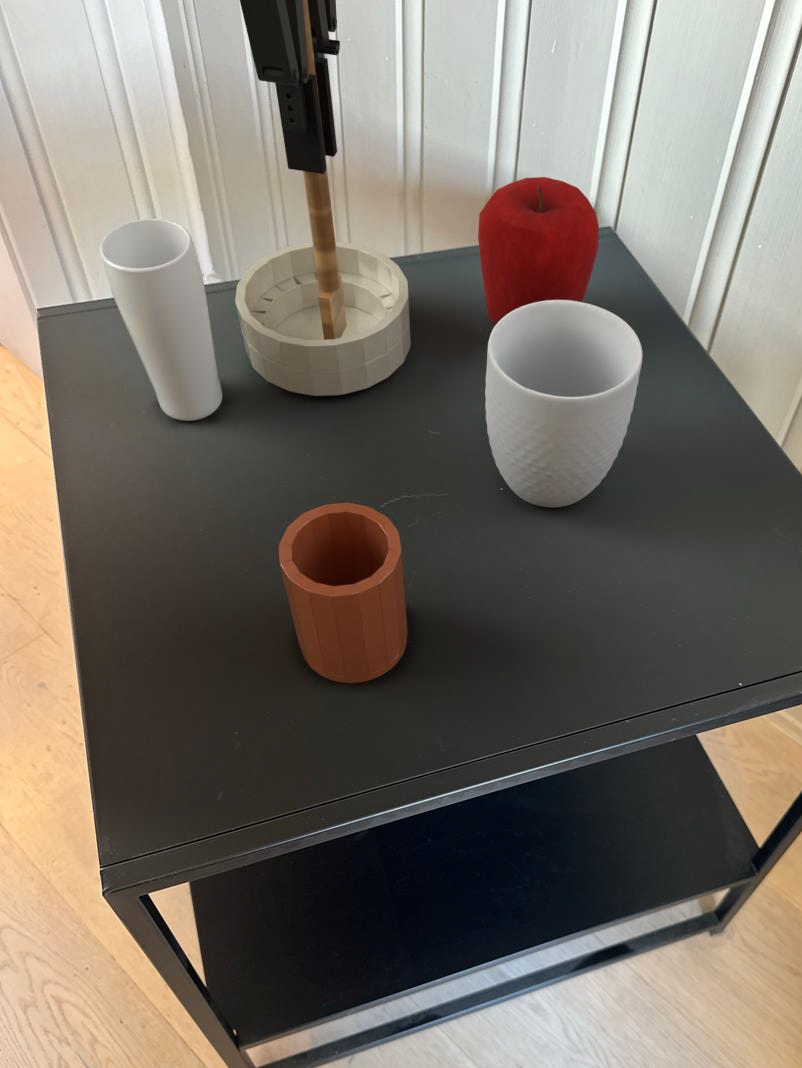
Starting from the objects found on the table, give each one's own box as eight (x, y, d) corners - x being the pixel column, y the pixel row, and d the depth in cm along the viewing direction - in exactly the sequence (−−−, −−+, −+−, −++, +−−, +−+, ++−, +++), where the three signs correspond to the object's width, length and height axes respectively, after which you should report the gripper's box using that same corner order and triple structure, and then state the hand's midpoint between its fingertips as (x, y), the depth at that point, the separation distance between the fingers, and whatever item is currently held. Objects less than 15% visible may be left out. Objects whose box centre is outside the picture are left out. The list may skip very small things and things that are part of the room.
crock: (285, 670, 66) (260, 581, 58) (321, 587, 70) (303, 493, 62) (389, 693, 65) (380, 606, 57) (419, 607, 69) (414, 515, 61)
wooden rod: (340, 349, 82) (296, -3, 60) (320, 345, 82) (269, -6, 60) (351, 326, 84) (313, -23, 61) (332, 323, 84) (286, -27, 62)
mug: (457, 412, 81) (458, 277, 71) (579, 393, 83) (598, 259, 72) (501, 540, 73) (510, 410, 62) (636, 517, 75) (666, 386, 64)
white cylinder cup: (218, 435, 79) (174, 275, 67) (140, 424, 80) (82, 265, 67) (242, 382, 83) (205, 222, 71) (168, 372, 83) (118, 212, 71)
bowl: (223, 386, 83) (208, 328, 78) (282, 288, 91) (272, 230, 86) (383, 416, 81) (379, 358, 76) (429, 313, 89) (427, 255, 84)
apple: (570, 373, 85) (587, 233, 73) (461, 348, 86) (462, 207, 75) (598, 304, 90) (618, 164, 79) (496, 282, 92) (501, 142, 81)
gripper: (274, -228, 46) (328, 223, 65) (366, -301, 54) (390, 118, 74) (131, -242, 47) (227, 206, 66) (243, -312, 55) (299, 105, 75)
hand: (312, 159), depth 70 cm, fingers closed on wooden rod, 2 cm apart
